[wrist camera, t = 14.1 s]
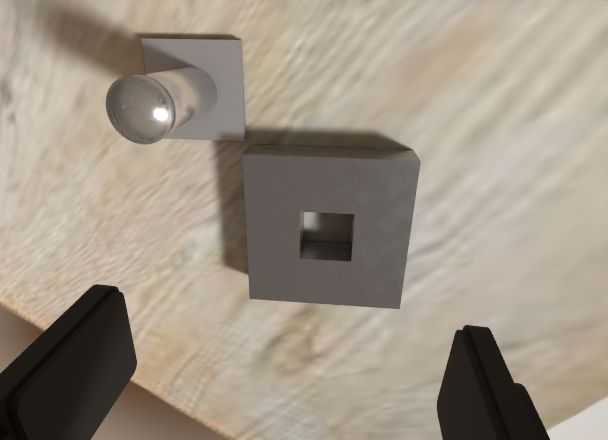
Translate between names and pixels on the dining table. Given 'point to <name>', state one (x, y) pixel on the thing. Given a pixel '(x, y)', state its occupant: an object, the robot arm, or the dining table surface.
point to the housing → (328, 199)
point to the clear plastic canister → (159, 102)
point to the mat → (223, 70)
